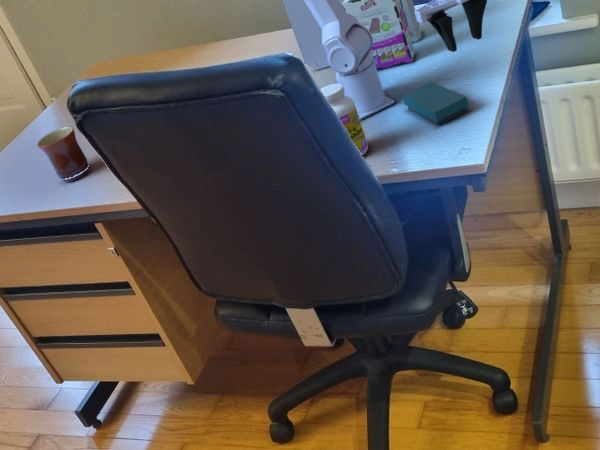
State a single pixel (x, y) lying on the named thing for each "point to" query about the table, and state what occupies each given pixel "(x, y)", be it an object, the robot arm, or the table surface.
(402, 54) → the candy bar box
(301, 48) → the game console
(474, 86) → the table surface
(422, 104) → the teal flat panel
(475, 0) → the robot arm
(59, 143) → the mug
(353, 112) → the supplement bottle
